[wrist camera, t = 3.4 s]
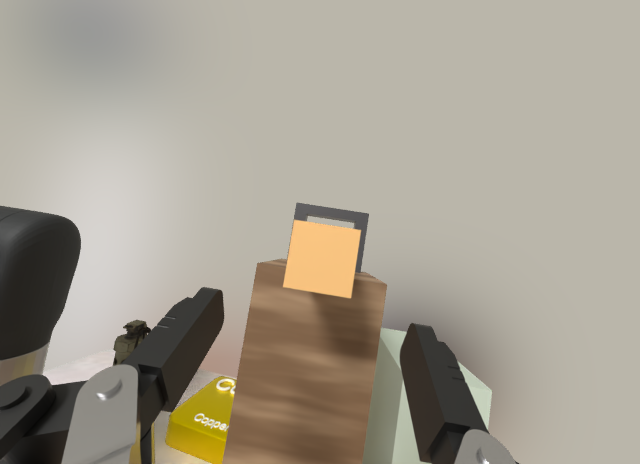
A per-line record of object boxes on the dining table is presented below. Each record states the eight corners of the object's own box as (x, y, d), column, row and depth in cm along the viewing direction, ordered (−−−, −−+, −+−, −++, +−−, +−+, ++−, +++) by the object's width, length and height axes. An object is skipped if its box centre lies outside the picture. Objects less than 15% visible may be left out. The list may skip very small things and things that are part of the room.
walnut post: (332, 677, 20) (387, 284, 22) (190, 644, 21) (257, 263, 23) (330, 517, 32) (366, 272, 34) (240, 499, 33) (281, 258, 35)
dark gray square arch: (360, 273, 31) (368, 213, 32) (286, 261, 32) (296, 202, 32) (358, 271, 33) (366, 215, 34) (289, 260, 34) (298, 205, 34)
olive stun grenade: (131, 417, 43) (149, 330, 44) (92, 411, 43) (111, 324, 44) (156, 396, 49) (170, 320, 50) (122, 390, 50) (137, 314, 51)
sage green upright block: (469, 596, 26) (492, 390, 28) (376, 576, 27) (403, 374, 28) (412, 456, 44) (427, 335, 46) (357, 446, 45) (374, 326, 46)
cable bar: (350, 298, 12) (361, 230, 13) (283, 287, 13) (294, 219, 13) (335, 266, 36) (339, 243, 37) (312, 262, 37) (316, 239, 37)
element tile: (158, 445, 39) (164, 413, 39) (216, 394, 54) (220, 371, 54) (242, 479, 36) (248, 444, 36) (280, 414, 50) (284, 390, 51)
